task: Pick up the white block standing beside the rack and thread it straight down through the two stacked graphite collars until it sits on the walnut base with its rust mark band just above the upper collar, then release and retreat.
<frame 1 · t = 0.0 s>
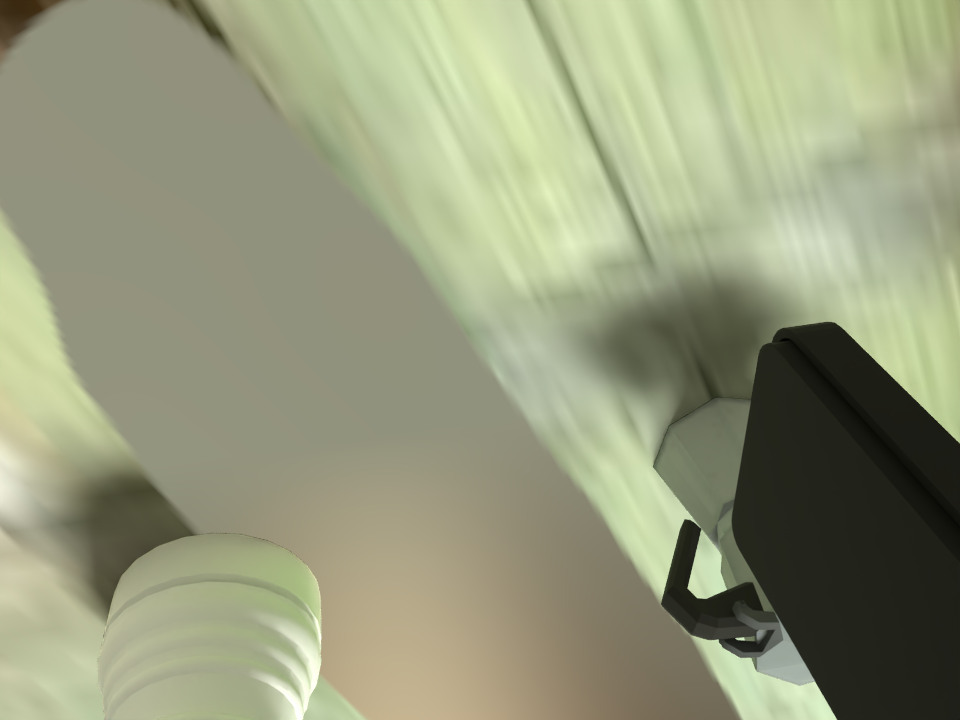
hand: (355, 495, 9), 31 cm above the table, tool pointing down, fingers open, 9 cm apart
coffee maker: (701, 446, 54), on the table
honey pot: (219, 602, 54), on the table
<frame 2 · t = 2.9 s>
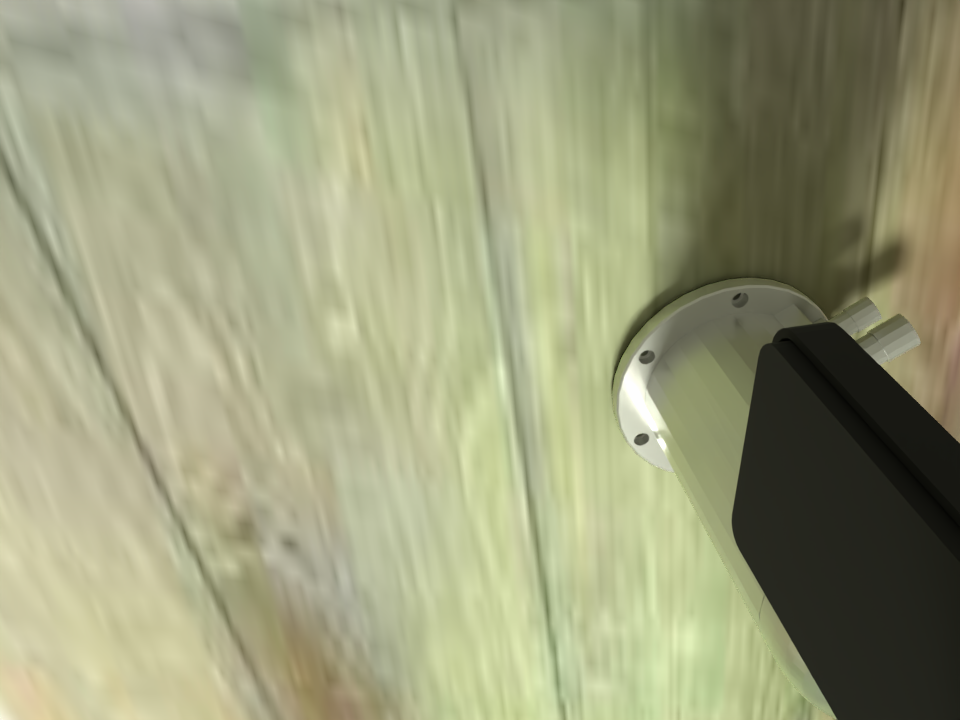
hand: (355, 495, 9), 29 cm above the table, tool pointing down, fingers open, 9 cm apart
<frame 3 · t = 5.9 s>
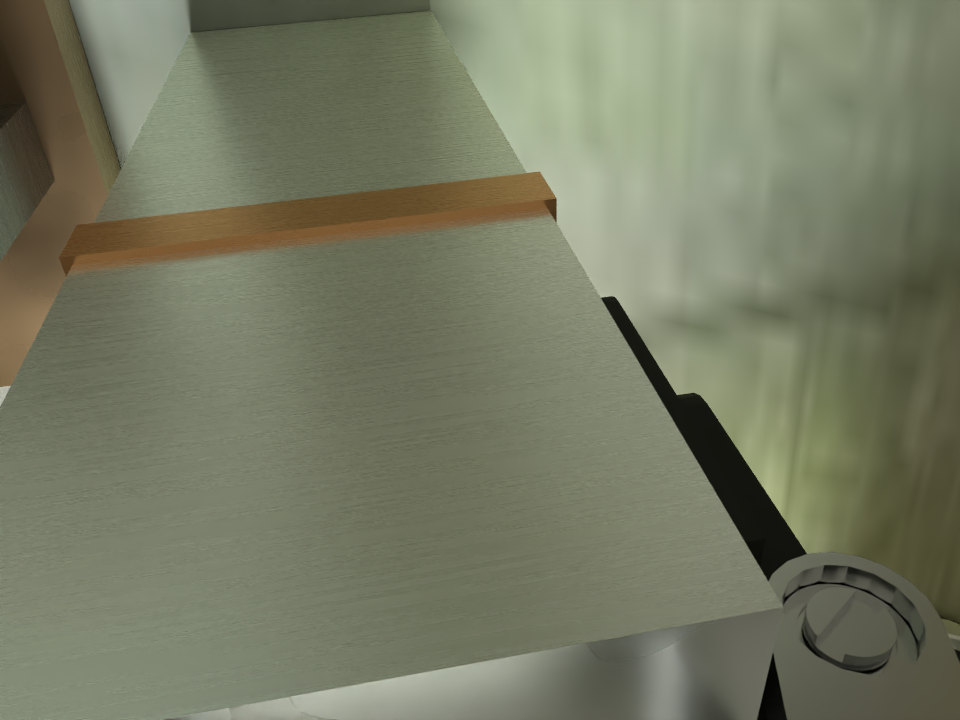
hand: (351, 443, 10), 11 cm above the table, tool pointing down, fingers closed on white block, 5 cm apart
white block: (330, 137, 19), on the table, touching gripper
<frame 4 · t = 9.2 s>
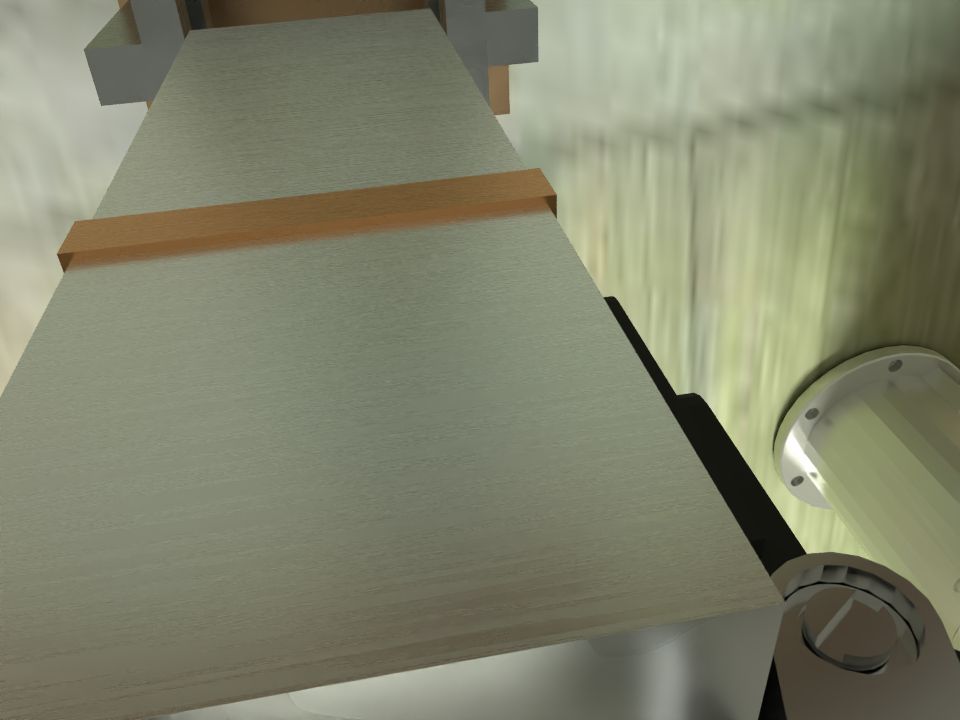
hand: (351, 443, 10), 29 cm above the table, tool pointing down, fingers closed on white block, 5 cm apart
white block: (330, 136, 19), point 18 cm above the table, touching gripper
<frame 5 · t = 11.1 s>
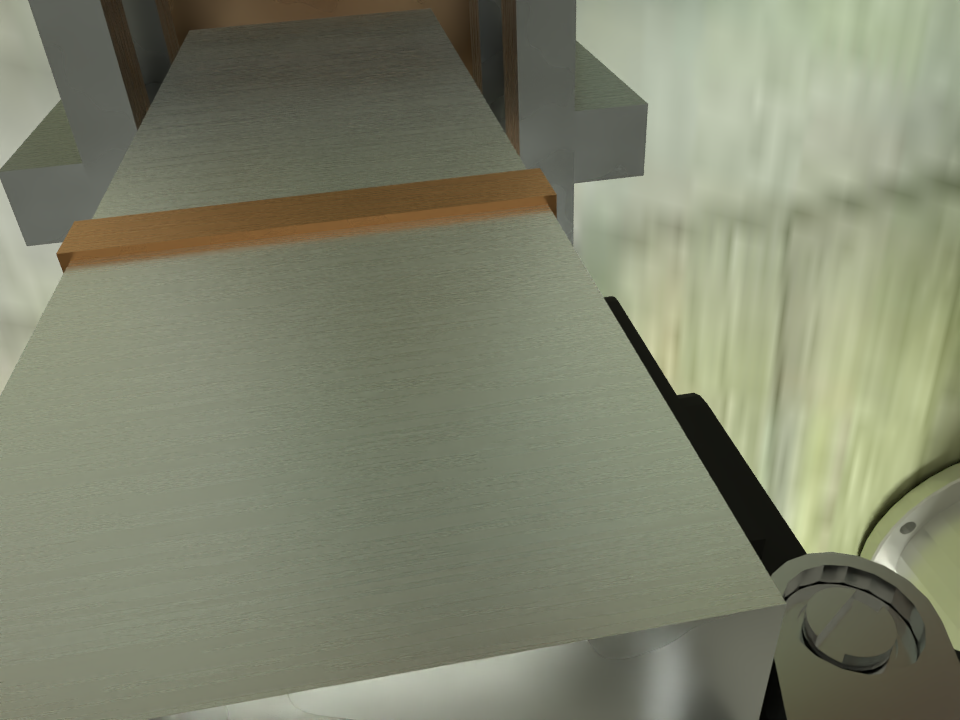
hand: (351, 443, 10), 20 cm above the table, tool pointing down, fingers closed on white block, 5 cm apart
collar rack: (332, 48, 27), on the table
white block: (330, 135, 19), point 9 cm above the table, touching gripper
when the fingers open (13 cm above the table, at t = 12.6 s): white block stays where it is, resting on collar rack.
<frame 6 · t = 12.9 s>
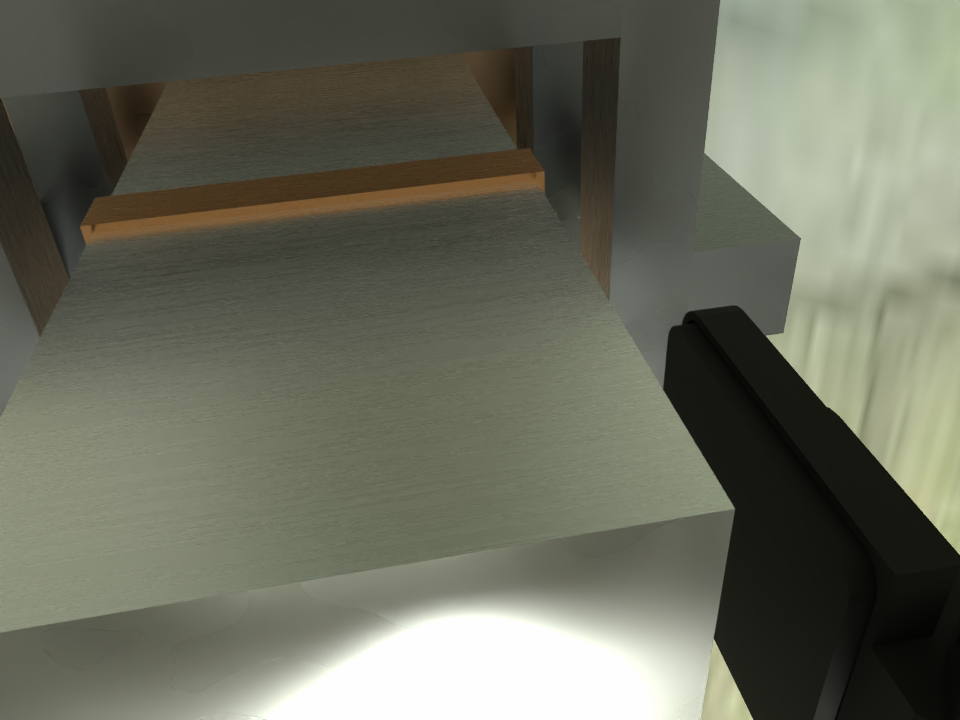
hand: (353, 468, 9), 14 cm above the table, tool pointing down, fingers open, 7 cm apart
collar rack: (328, 107, 21), on the table
white block: (332, 126, 19), point 1 cm above the table, touching collar rack
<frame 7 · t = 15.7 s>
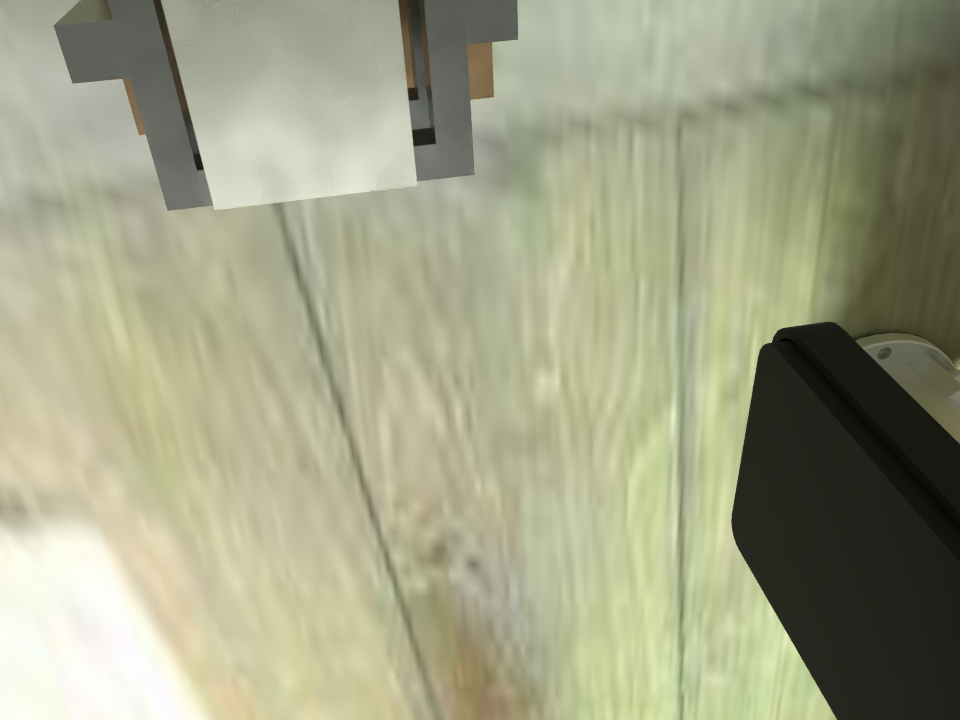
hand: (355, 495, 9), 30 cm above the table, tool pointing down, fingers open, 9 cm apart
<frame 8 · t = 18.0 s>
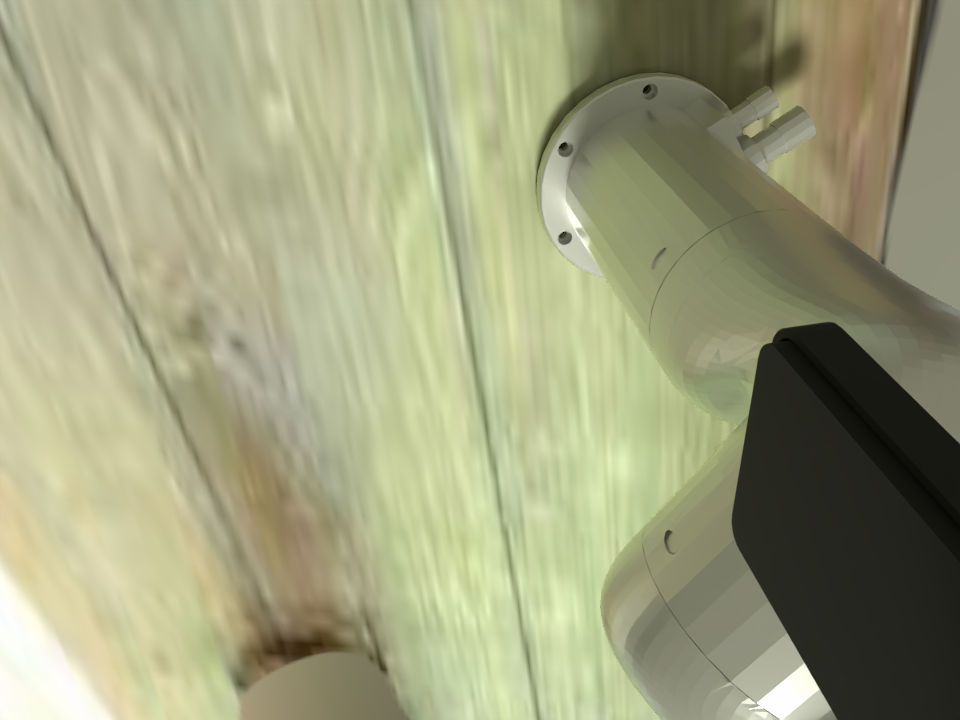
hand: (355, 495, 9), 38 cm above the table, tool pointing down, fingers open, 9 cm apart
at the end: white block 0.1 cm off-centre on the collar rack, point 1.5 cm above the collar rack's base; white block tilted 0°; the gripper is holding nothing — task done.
